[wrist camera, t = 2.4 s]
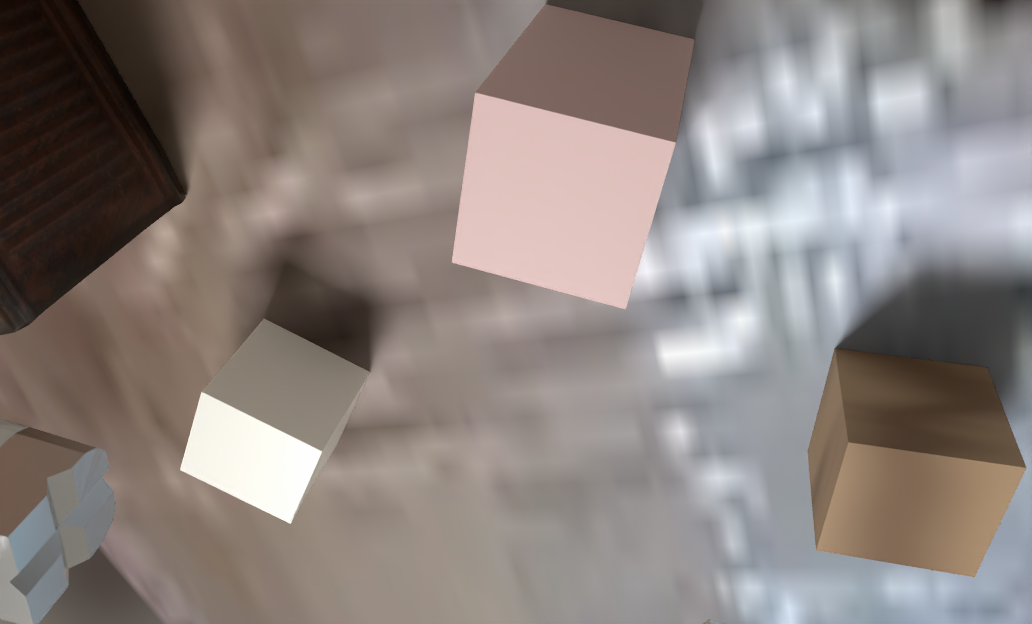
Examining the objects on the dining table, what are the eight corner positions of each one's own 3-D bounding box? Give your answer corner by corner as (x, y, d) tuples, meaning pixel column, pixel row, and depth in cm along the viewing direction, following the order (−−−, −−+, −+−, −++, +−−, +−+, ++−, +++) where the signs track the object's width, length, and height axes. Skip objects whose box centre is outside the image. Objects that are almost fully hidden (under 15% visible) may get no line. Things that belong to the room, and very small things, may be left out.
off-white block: (370, 371, 35) (322, 451, 31) (338, 441, 38) (290, 523, 34) (264, 317, 35) (201, 391, 31) (240, 393, 38) (180, 469, 34)
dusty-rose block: (695, 39, 24) (675, 142, 18) (654, 177, 27) (625, 309, 21) (545, 3, 25) (475, 92, 18) (520, 142, 28) (451, 262, 21)
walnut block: (986, 366, 28) (1026, 467, 24) (945, 470, 31) (974, 577, 27) (834, 347, 29) (848, 442, 25) (807, 450, 32) (815, 550, 28)
